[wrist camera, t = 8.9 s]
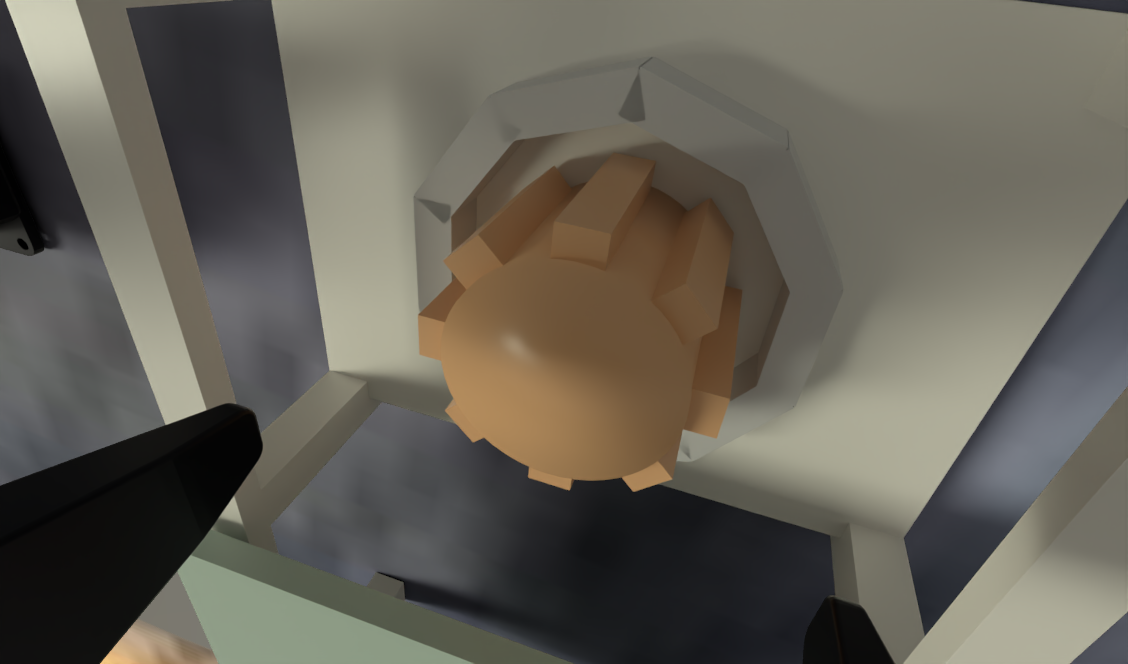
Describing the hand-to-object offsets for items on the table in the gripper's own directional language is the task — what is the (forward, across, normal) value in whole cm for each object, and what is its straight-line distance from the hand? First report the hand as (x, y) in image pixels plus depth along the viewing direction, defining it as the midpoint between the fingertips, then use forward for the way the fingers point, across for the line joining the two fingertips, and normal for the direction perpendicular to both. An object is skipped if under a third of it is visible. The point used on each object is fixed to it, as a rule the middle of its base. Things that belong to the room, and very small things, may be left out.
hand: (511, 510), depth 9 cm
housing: (+9, 0, +7) cm, 11 cm away
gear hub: (+8, 0, 0) cm, 8 cm away
